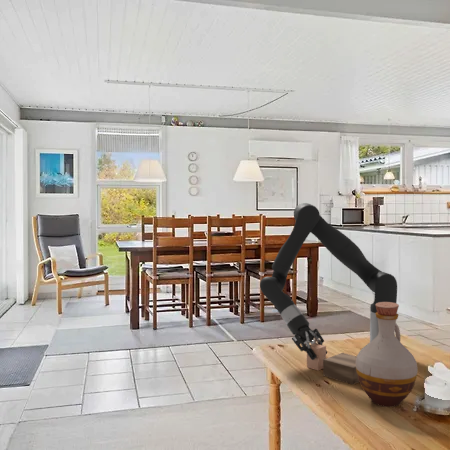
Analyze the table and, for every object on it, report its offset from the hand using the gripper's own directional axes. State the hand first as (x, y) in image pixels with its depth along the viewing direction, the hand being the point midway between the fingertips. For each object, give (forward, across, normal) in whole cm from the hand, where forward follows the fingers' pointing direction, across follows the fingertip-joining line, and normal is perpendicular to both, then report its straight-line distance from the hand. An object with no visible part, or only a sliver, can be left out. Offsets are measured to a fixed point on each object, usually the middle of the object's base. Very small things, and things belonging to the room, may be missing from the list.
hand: (320, 356), depth 177 cm
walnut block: (+11, 0, -5) cm, 12 cm away
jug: (+25, -11, -19) cm, 34 cm away
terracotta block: (+2, 0, +4) cm, 5 cm away
